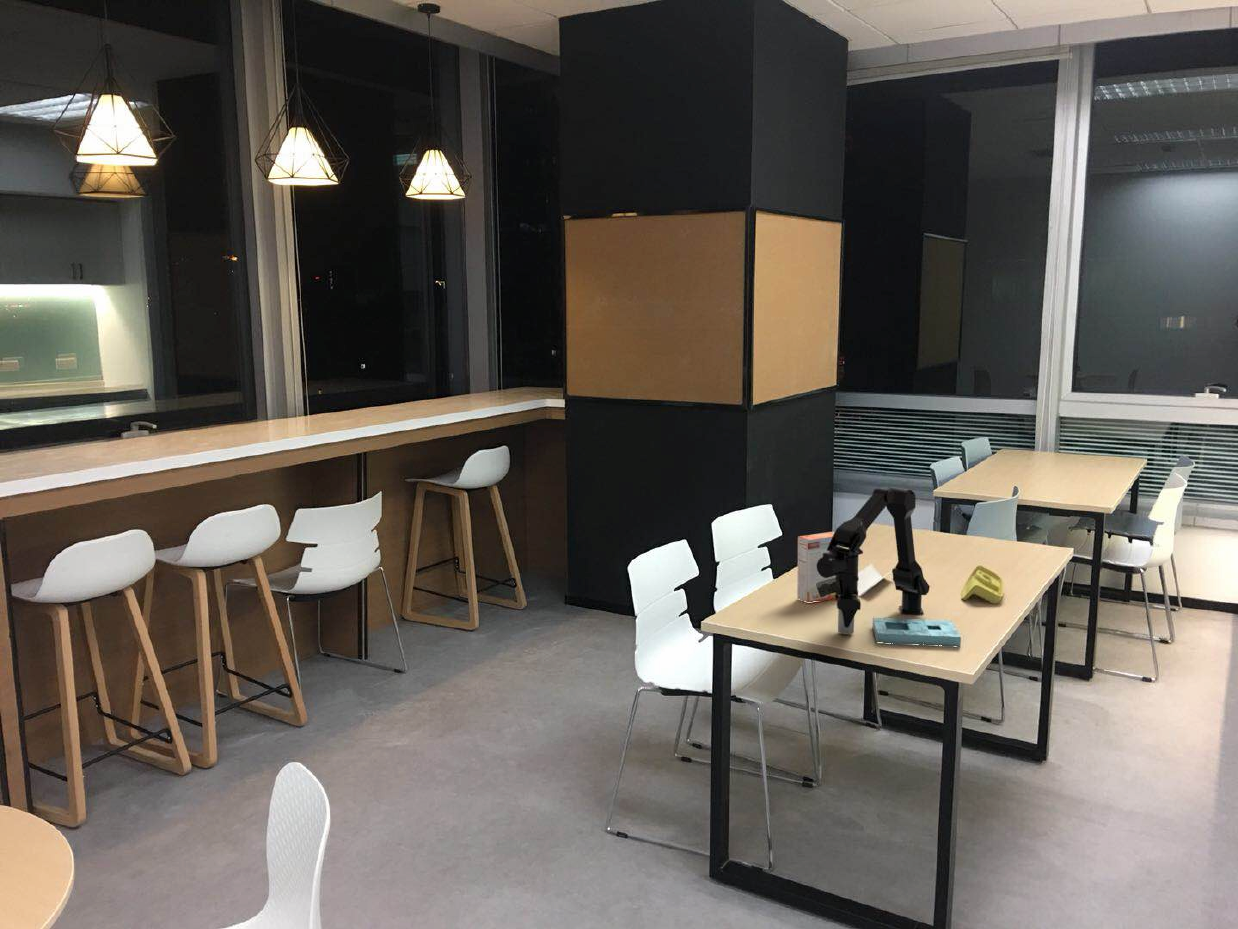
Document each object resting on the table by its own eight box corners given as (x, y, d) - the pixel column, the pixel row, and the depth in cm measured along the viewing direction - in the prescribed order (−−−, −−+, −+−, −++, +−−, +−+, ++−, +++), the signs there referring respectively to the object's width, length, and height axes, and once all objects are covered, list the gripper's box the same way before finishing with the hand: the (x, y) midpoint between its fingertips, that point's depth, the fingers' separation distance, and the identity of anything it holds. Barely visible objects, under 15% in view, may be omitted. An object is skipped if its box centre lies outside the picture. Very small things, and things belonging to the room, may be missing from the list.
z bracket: (845, 608, 314) (833, 592, 316) (870, 588, 335) (857, 574, 337) (873, 586, 308) (859, 570, 310) (895, 568, 329) (883, 553, 331)
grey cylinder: (837, 628, 278) (838, 601, 277) (853, 629, 278) (854, 602, 276) (838, 633, 274) (839, 606, 273) (854, 634, 273) (855, 607, 272)
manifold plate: (872, 627, 282) (872, 617, 281) (951, 630, 278) (952, 620, 278) (877, 643, 268) (877, 633, 267) (960, 647, 264) (960, 637, 264)
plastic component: (1002, 598, 301) (972, 582, 303) (990, 617, 304) (960, 601, 306) (1003, 577, 319) (975, 562, 321) (992, 595, 321) (964, 580, 324)
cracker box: (831, 593, 315) (833, 530, 311) (843, 598, 309) (845, 534, 306) (795, 599, 309) (797, 535, 306) (807, 604, 303) (808, 539, 300)
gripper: (817, 561, 283) (815, 613, 286) (819, 579, 265) (818, 634, 268) (856, 563, 282) (854, 614, 284) (861, 580, 263) (859, 636, 266)
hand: (846, 624), depth 276 cm, fingers closed on grey cylinder, 4 cm apart
